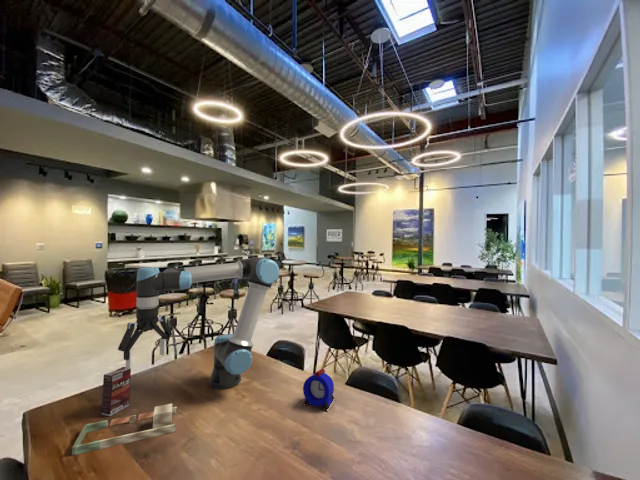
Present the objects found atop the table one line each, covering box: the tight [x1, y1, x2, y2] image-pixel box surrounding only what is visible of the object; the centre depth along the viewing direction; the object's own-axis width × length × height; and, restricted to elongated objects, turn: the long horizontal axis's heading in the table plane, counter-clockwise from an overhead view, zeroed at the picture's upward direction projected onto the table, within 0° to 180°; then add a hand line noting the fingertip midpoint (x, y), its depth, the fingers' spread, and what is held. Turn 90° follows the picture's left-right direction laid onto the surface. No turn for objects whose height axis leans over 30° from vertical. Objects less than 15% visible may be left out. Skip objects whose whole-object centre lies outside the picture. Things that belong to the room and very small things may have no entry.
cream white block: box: [152, 403, 173, 429], centre depth 108 cm, size 6×6×6 cm
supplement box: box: [101, 366, 132, 417], centre depth 117 cm, size 9×5×16 cm, turn 163°
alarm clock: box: [302, 368, 335, 411], centre depth 127 cm, size 12×12×15 cm
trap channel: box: [71, 406, 178, 456], centre depth 106 cm, size 30×17×2 cm, turn 115°
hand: (146, 361), depth 112 cm, fingers open, 13 cm apart
